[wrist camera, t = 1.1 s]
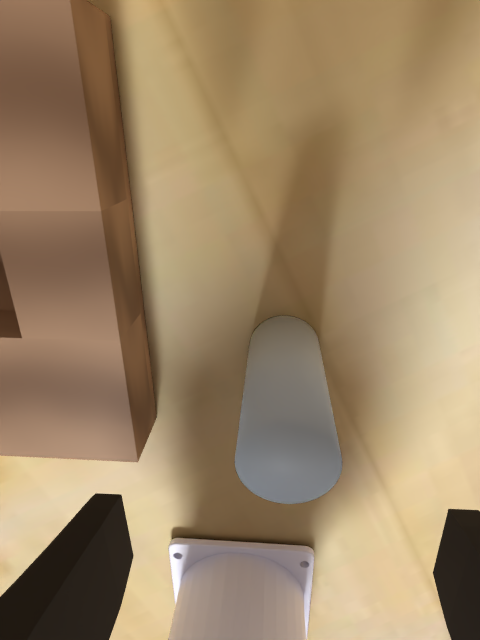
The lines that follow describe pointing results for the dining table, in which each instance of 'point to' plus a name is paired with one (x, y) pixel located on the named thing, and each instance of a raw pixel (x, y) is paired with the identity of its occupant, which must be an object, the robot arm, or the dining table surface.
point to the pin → (286, 416)
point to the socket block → (67, 243)
